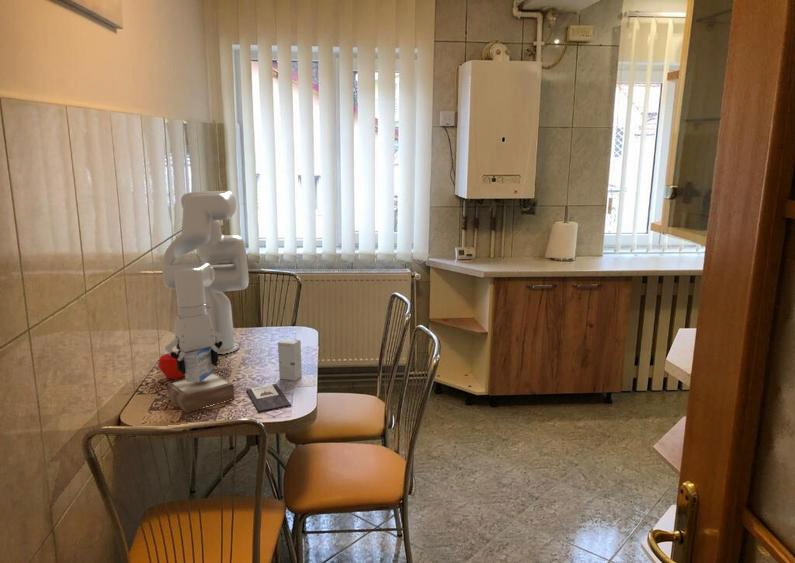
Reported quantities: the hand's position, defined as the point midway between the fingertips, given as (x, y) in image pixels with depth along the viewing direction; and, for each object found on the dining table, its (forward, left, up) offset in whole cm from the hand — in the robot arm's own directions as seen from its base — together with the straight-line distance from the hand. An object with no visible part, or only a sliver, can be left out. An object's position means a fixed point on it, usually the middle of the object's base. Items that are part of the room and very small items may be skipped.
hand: (198, 368), depth 172 cm
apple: (-24, +1, -10) cm, 26 cm away
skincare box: (+3, +28, -10) cm, 30 cm away
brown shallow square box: (0, 0, -9) cm, 9 cm away
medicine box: (0, 0, -3) cm, 3 cm away
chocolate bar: (+13, +15, -10) cm, 22 cm away
